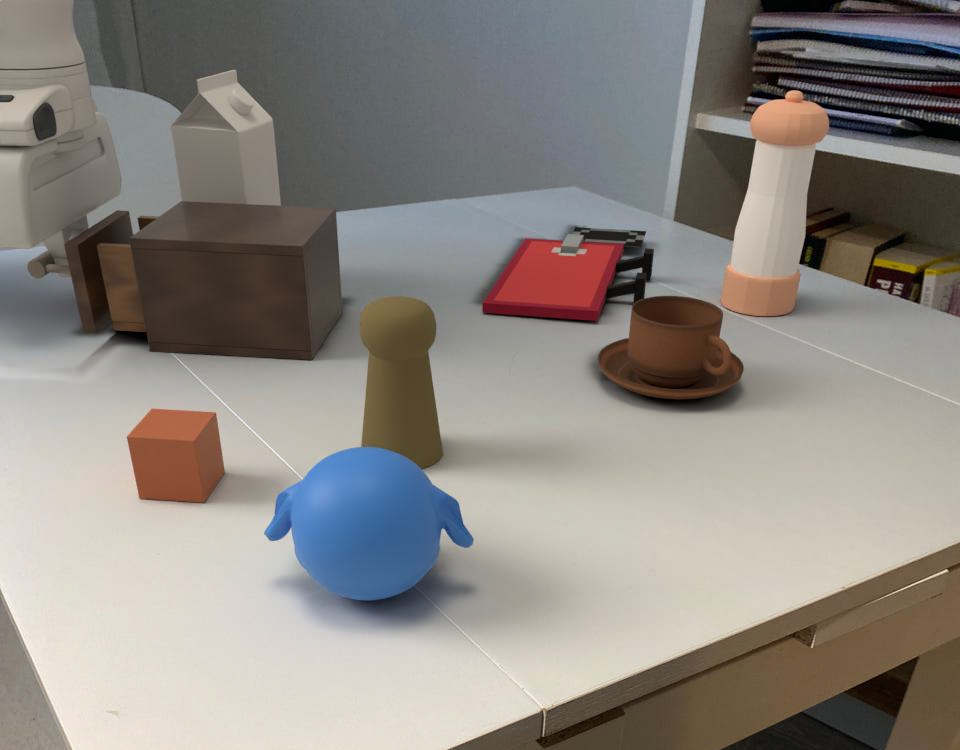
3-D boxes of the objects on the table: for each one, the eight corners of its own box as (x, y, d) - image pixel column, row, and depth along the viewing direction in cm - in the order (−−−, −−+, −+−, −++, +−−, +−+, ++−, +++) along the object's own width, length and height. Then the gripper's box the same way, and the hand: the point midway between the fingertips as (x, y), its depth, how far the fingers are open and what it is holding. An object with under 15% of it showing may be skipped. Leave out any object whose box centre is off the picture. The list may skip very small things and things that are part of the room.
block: (139, 498, 67) (126, 436, 65) (162, 468, 71) (151, 408, 68) (204, 503, 67) (194, 440, 64) (225, 472, 71) (216, 411, 68)
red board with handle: (661, 240, 119) (536, 233, 122) (664, 215, 117) (537, 208, 120) (636, 328, 96) (482, 317, 98) (639, 299, 94) (482, 288, 97)
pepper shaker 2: (760, 321, 98) (801, 100, 86) (705, 301, 102) (737, 88, 91) (809, 308, 101) (854, 93, 90) (753, 289, 106) (790, 82, 95)
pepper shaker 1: (422, 477, 70) (420, 321, 64) (345, 462, 72) (335, 308, 66) (455, 443, 75) (456, 294, 68) (382, 429, 77) (376, 282, 70)
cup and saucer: (761, 377, 86) (775, 305, 83) (703, 425, 78) (716, 348, 75) (636, 346, 92) (644, 278, 88) (570, 388, 84) (575, 314, 80)
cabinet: (149, 351, 89) (128, 238, 83) (196, 305, 99) (180, 201, 93) (312, 360, 88) (302, 246, 82) (342, 312, 98) (335, 208, 92)
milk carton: (194, 288, 103) (162, 77, 92) (228, 268, 108) (202, 67, 97) (257, 296, 101) (233, 82, 90) (288, 275, 107) (269, 72, 95)
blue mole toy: (477, 524, 65) (480, 402, 60) (469, 632, 56) (471, 496, 51) (294, 518, 66) (281, 395, 61) (254, 624, 56) (234, 489, 51)
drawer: (29, 332, 90) (6, 241, 85) (83, 292, 99) (64, 207, 94) (232, 343, 88) (220, 251, 84) (267, 301, 97) (258, 216, 93)
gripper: (55, 82, 92) (88, 239, 100) (-65, 122, 76) (-14, 306, 84) (122, 85, 92) (149, 242, 100) (16, 126, 75) (59, 310, 83)
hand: (74, 272), depth 92 cm, fingers closed, pressing on drawer
